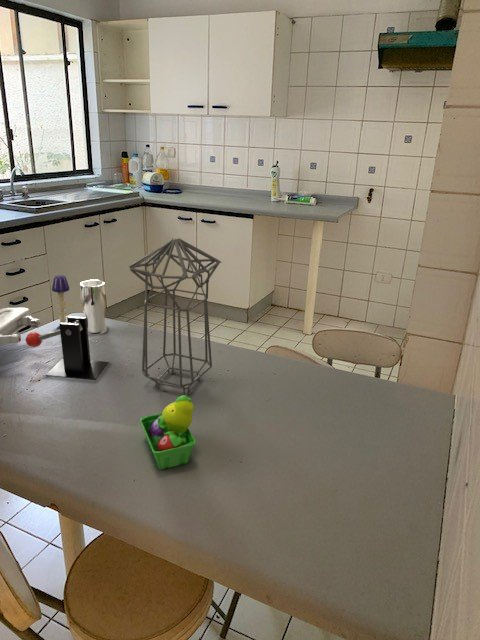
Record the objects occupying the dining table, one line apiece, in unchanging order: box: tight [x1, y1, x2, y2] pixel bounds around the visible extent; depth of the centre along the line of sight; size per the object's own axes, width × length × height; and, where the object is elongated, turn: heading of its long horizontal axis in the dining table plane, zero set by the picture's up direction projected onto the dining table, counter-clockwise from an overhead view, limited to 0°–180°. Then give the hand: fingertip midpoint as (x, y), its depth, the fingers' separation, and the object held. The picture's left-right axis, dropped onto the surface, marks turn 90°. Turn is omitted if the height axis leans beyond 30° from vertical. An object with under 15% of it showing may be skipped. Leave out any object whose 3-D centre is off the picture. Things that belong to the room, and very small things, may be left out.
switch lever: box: [25, 320, 83, 348], centre depth 109 cm, size 14×4×4 cm, turn 84°
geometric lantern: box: [127, 238, 222, 396], centre depth 102 cm, size 16×16×35 cm
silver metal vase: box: [79, 279, 108, 336], centre depth 132 cm, size 7×7×15 cm
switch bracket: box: [44, 315, 110, 381], centre depth 110 cm, size 12×9×14 cm
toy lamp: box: [51, 274, 70, 331], centre depth 132 cm, size 5×5×17 cm
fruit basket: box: [139, 394, 196, 470], centre depth 84 cm, size 11×9×11 cm
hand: (29, 331), depth 110 cm, fingers open, 8 cm apart
